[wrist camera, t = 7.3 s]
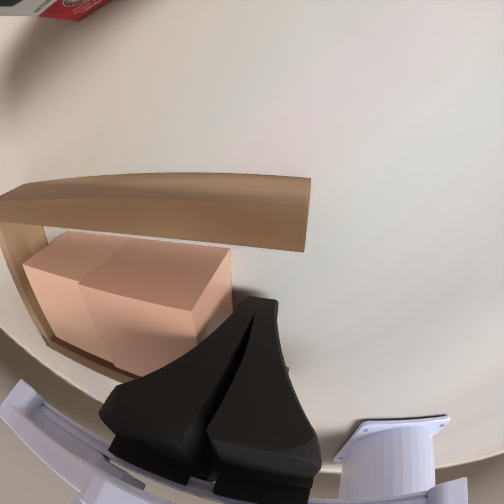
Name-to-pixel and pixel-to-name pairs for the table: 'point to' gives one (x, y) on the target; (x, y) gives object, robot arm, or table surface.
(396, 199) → the table surface
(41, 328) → the tray
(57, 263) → the tile rear
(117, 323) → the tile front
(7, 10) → the ink box
